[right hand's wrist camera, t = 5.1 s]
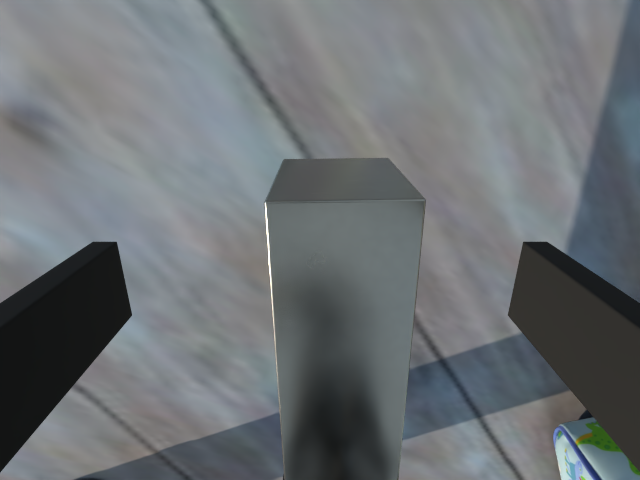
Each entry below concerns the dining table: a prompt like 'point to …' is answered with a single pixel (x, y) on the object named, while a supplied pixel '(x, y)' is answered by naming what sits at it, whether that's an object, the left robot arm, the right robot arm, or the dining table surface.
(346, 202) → the box
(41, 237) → the dining table surface
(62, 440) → the dining table surface
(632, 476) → the lunch box
